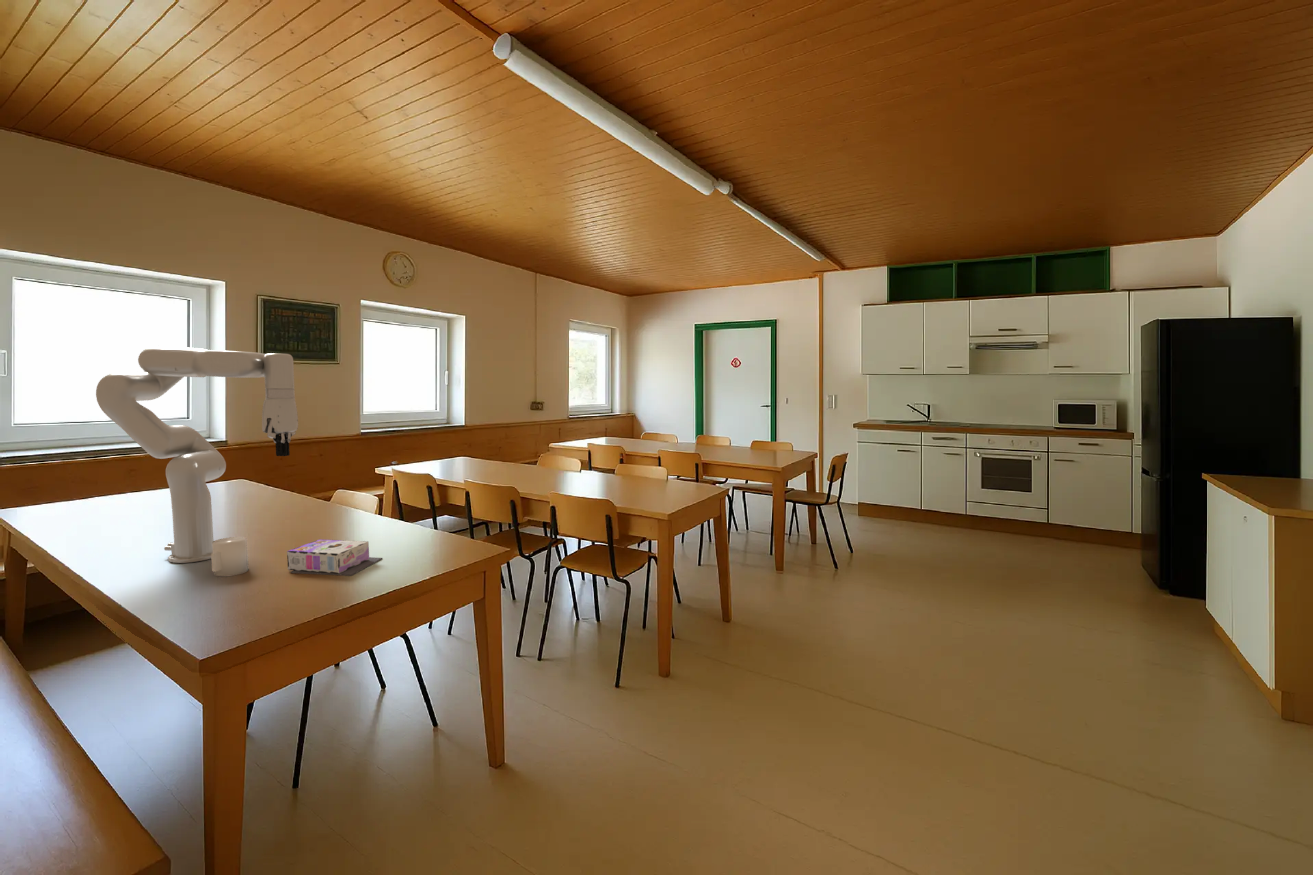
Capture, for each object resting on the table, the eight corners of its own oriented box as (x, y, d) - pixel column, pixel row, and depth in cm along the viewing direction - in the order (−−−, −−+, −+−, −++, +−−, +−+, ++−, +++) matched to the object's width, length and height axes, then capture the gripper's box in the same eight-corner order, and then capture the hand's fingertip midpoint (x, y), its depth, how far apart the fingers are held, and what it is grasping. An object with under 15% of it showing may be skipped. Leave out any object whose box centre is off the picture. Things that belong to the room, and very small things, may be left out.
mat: (290, 573, 172) (290, 571, 172) (326, 556, 188) (326, 555, 187) (351, 575, 170) (351, 574, 170) (382, 559, 186) (382, 557, 186)
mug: (200, 577, 167) (198, 545, 166) (229, 566, 176) (227, 536, 176) (227, 579, 166) (226, 546, 165) (255, 568, 176) (253, 537, 175)
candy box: (286, 570, 173) (339, 574, 170) (285, 550, 172) (338, 553, 169) (321, 557, 186) (370, 560, 183) (320, 538, 186) (369, 540, 183)
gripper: (285, 394, 191) (288, 452, 192) (249, 395, 176) (252, 458, 178) (308, 394, 190) (310, 453, 192) (274, 395, 175) (277, 459, 177)
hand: (282, 455), depth 185 cm, fingers closed
